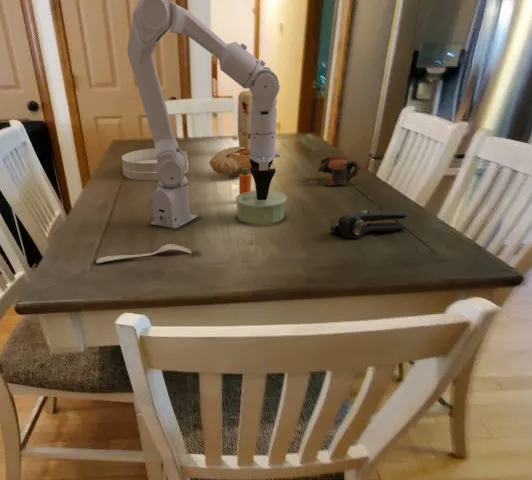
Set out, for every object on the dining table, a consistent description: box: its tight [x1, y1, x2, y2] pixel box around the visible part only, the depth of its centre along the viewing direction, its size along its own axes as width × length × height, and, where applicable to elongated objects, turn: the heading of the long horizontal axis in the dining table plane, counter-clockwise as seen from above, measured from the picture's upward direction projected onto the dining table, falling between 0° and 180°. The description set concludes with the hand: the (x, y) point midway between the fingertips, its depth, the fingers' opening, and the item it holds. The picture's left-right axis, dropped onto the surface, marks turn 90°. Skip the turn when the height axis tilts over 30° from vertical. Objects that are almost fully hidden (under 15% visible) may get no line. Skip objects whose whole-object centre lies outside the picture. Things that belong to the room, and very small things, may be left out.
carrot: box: [238, 168, 252, 195], centre depth 122 cm, size 3×3×9 cm
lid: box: [235, 190, 288, 208], centre depth 112 cm, size 12×12×4 cm
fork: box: [96, 243, 192, 264], centre depth 98 cm, size 3×21×3 cm, turn 98°
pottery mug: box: [317, 155, 361, 187], centre depth 137 cm, size 12×10×8 cm
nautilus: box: [208, 146, 276, 178], centre depth 146 cm, size 8×22×15 cm
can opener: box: [329, 209, 408, 240], centre depth 102 cm, size 18×7×6 cm, turn 106°
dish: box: [121, 147, 190, 181], centre depth 155 cm, size 22×22×5 cm
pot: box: [236, 202, 286, 225], centre depth 114 cm, size 12×12×4 cm
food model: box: [237, 90, 253, 149], centre depth 167 cm, size 10×7×20 cm
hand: (261, 194), depth 112 cm, fingers open, 7 cm apart
